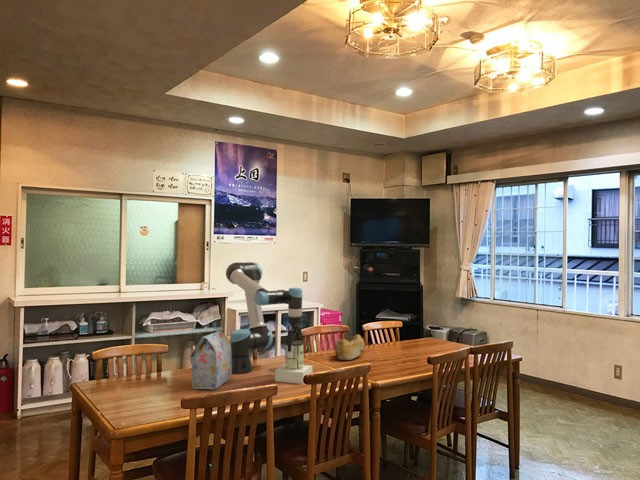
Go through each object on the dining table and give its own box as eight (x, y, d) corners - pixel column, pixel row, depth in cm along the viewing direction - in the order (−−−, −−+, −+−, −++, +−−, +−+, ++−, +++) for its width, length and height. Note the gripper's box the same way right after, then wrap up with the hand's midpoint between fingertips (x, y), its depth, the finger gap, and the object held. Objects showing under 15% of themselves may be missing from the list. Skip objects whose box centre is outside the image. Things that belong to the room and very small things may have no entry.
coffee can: (286, 365, 271) (286, 340, 272) (304, 366, 270) (304, 340, 271) (283, 369, 261) (283, 343, 261) (301, 370, 260) (302, 344, 260)
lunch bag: (204, 377, 265) (205, 329, 266) (233, 379, 262) (234, 330, 263) (186, 389, 243) (187, 336, 243) (218, 391, 240) (219, 337, 241)
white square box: (274, 381, 260) (275, 369, 260) (285, 374, 276) (285, 363, 276) (302, 384, 256) (303, 372, 256) (312, 376, 271) (312, 365, 271)
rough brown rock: (350, 354, 334) (349, 332, 335) (368, 356, 322) (367, 334, 323) (326, 360, 318) (325, 337, 319) (344, 362, 306) (343, 339, 307)
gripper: (293, 319, 253) (292, 360, 253) (308, 313, 277) (307, 350, 277) (280, 318, 255) (279, 358, 255) (296, 312, 279) (295, 349, 279)
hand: (294, 354), depth 266 cm, fingers open, 13 cm apart
